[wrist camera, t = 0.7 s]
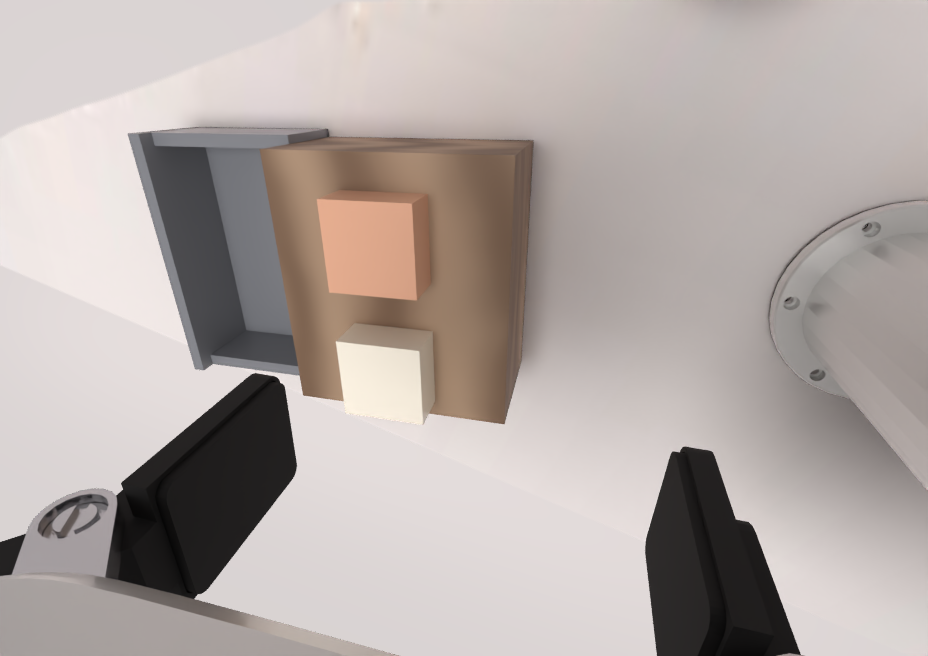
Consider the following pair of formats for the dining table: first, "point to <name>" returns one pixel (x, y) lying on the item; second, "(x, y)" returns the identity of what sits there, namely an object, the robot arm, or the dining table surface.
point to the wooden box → (451, 259)
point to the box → (221, 240)
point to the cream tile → (387, 372)
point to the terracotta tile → (376, 243)
